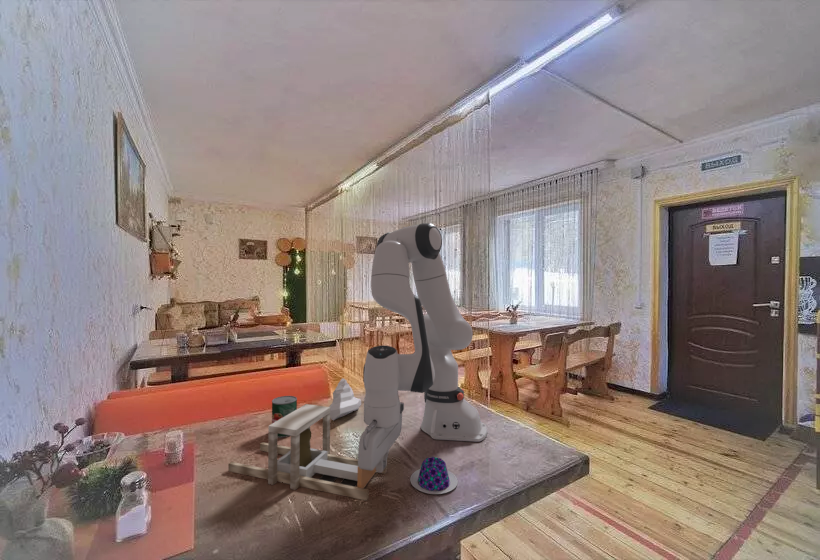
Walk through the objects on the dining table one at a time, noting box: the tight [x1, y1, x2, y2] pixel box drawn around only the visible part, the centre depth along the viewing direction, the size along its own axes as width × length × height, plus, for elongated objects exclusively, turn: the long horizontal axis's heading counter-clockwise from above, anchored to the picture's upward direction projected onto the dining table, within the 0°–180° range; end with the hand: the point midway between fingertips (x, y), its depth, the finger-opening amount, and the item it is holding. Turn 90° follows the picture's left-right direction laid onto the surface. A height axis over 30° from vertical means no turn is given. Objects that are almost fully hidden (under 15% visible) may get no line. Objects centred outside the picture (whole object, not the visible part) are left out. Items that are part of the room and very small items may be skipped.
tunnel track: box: [227, 403, 388, 501], centre depth 93 cm, size 40×16×14 cm, turn 73°
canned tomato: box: [271, 395, 298, 439], centre depth 116 cm, size 8×8×11 cm
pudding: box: [409, 456, 459, 495], centre depth 89 cm, size 12×12×5 cm
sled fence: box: [277, 447, 377, 489], centre depth 91 cm, size 25×10×6 cm, turn 73°
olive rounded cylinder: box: [290, 428, 312, 467], centre depth 93 cm, size 6×6×11 cm
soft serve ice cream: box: [328, 377, 362, 421], centre depth 133 cm, size 12×15×14 cm
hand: (381, 469), depth 86 cm, fingers closed
